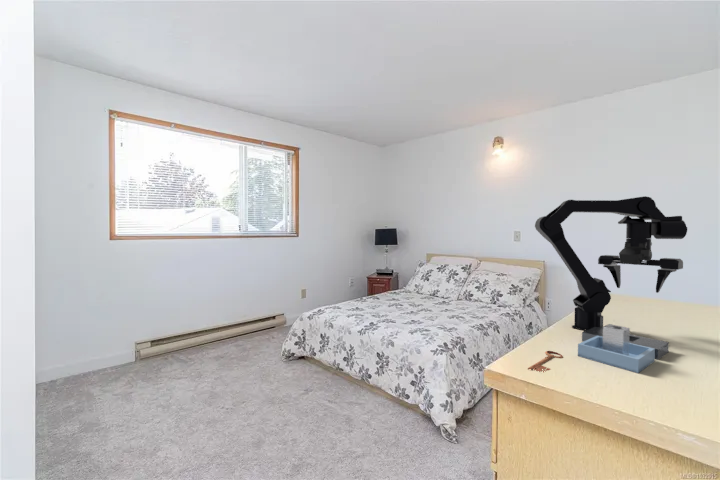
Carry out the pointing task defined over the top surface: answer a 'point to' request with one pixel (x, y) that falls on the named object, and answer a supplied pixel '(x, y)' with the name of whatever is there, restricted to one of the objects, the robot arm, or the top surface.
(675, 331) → the top surface
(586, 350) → the parts tray
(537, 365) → the key
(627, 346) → the small speaker box
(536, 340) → the top surface
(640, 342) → the gray square hole plate
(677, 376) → the top surface
